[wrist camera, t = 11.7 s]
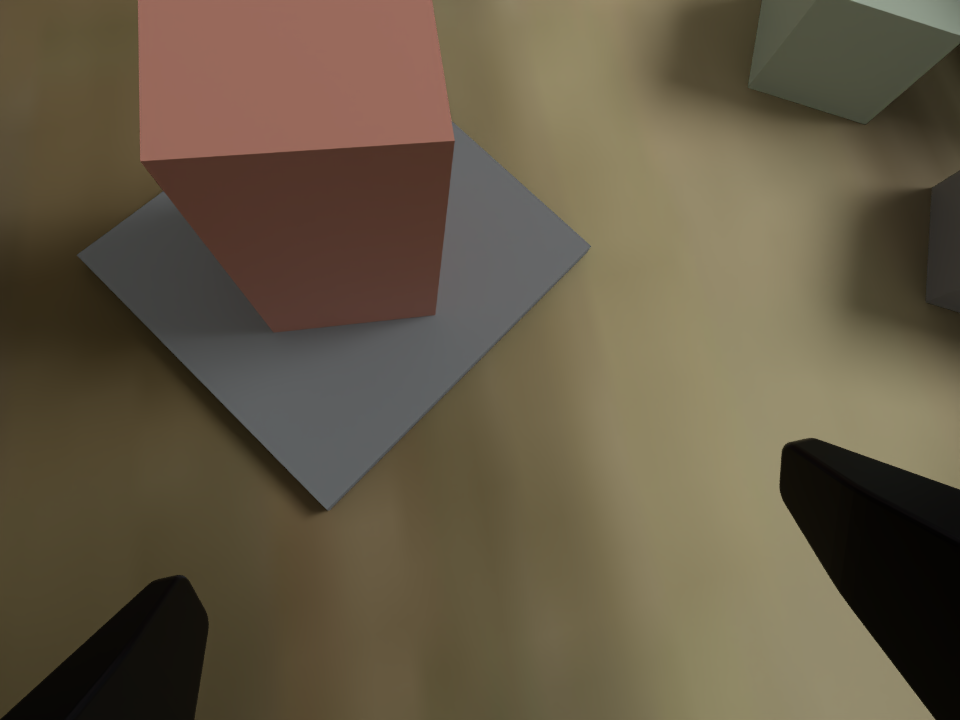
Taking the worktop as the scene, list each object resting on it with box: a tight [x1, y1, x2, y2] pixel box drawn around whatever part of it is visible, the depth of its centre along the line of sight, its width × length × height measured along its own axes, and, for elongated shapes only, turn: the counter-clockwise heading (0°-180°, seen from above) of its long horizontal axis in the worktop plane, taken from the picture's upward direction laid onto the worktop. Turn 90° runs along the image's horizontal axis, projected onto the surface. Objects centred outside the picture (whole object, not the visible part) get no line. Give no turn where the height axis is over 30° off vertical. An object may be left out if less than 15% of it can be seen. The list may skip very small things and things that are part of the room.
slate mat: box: [77, 122, 591, 510], centre depth 19 cm, size 12×11×1 cm
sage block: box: [748, 0, 960, 125], centre depth 22 cm, size 5×5×4 cm
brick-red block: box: [138, 0, 455, 333], centre depth 14 cm, size 5×5×9 cm
